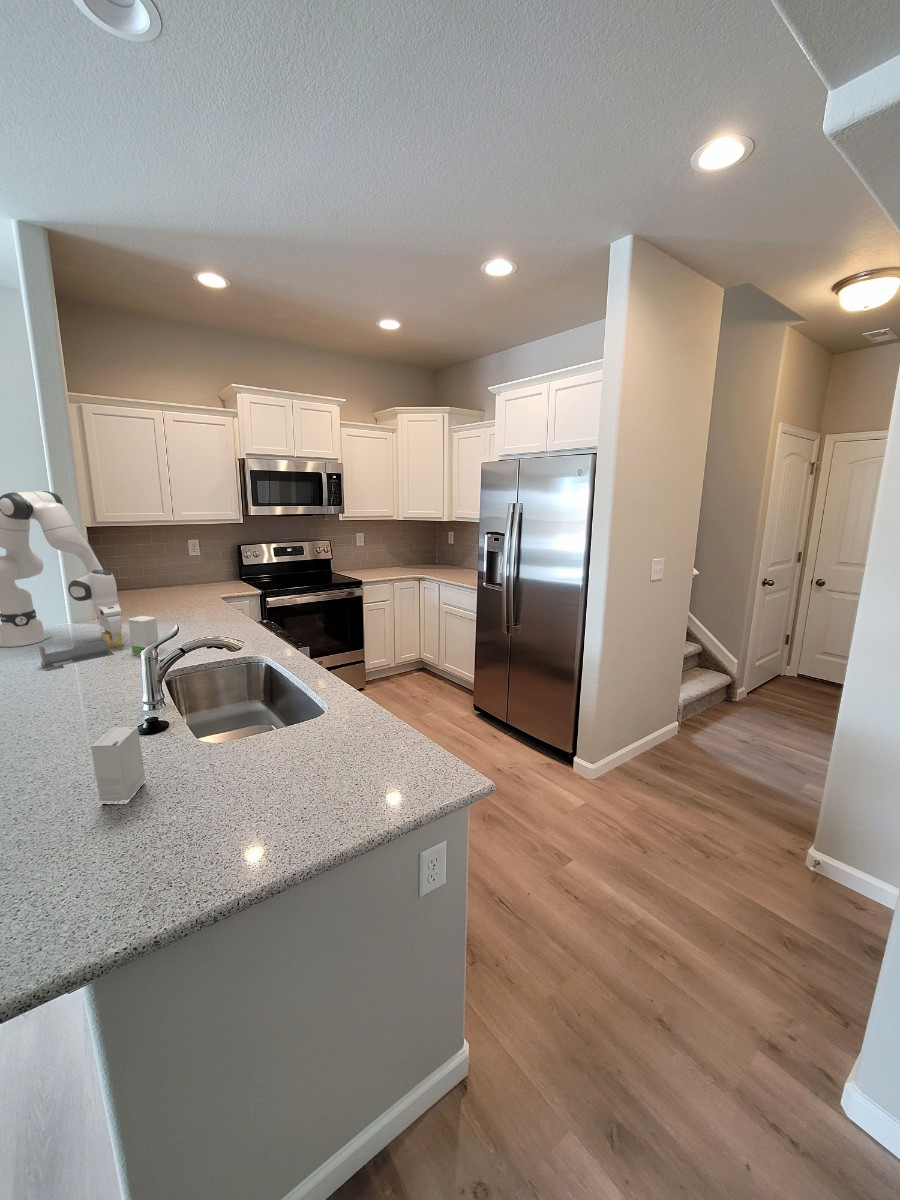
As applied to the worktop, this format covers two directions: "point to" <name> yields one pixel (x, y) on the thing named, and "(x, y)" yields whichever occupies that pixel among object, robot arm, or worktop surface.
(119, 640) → the gold knobbed block
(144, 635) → the skincare box
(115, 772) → the skincare box
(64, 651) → the rail
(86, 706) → the worktop surface
